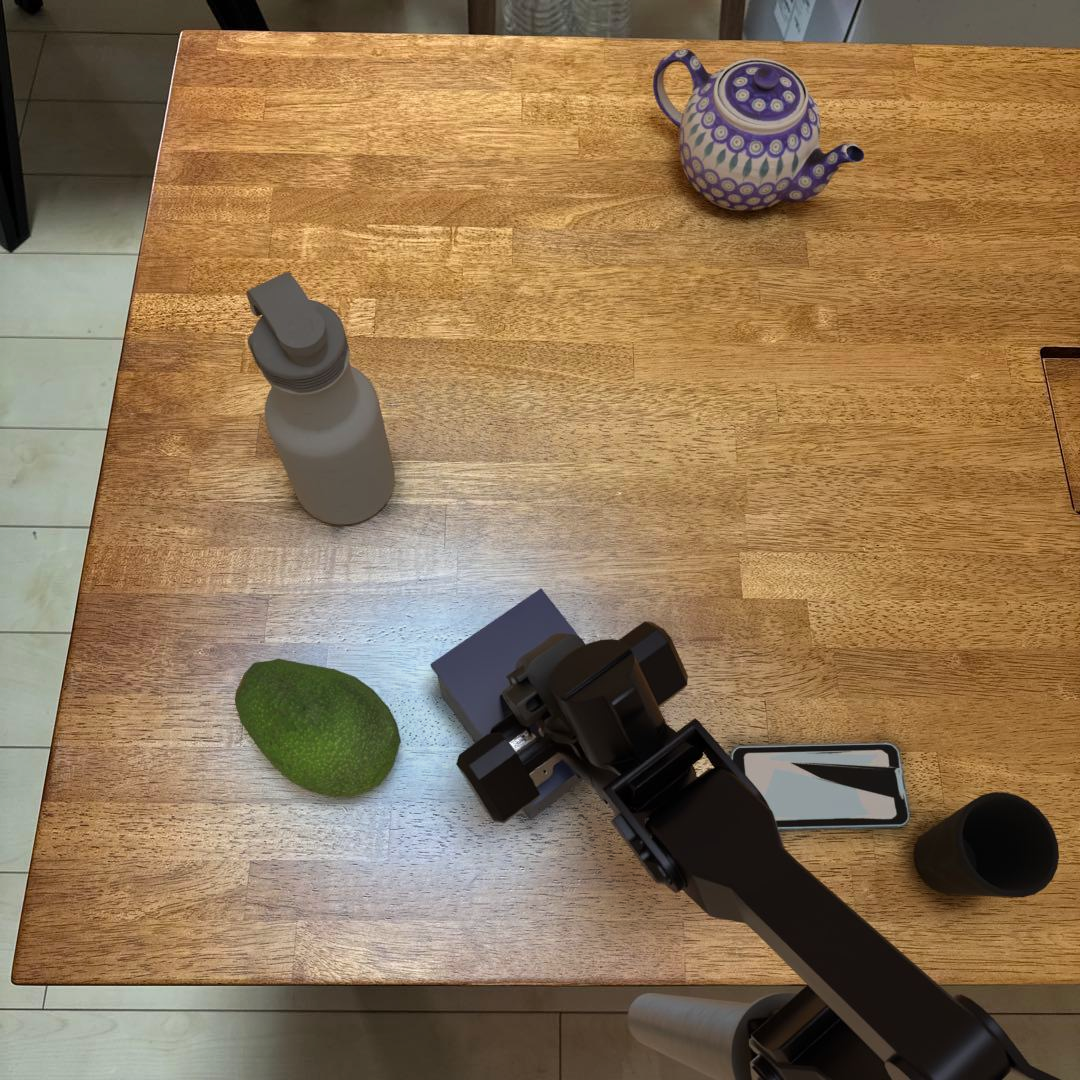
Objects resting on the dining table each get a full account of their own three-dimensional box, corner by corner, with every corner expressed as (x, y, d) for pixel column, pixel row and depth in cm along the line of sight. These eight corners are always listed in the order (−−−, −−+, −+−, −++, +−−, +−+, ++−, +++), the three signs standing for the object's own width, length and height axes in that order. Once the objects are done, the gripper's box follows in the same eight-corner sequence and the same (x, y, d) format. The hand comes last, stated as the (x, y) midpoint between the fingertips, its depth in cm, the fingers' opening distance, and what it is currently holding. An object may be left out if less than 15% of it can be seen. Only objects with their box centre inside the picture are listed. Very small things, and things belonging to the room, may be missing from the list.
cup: (888, 879, 87) (943, 865, 76) (917, 799, 90) (975, 774, 79) (974, 924, 86) (1043, 916, 75) (1001, 841, 88) (1072, 822, 77)
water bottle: (276, 465, 101) (197, 289, 75) (363, 420, 103) (315, 234, 77) (325, 545, 97) (259, 390, 72) (414, 497, 100) (381, 329, 74)
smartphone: (729, 745, 90) (897, 741, 90) (727, 747, 91) (894, 743, 91) (737, 831, 87) (911, 827, 87) (735, 832, 88) (908, 828, 88)
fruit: (222, 730, 90) (189, 702, 81) (295, 643, 94) (272, 606, 84) (354, 832, 87) (336, 815, 78) (426, 738, 90) (417, 711, 81)
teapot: (610, 161, 117) (623, 52, 104) (687, 86, 122) (710, -27, 109) (791, 276, 112) (831, 177, 98) (865, 193, 117) (912, 88, 103)
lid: (430, 666, 86) (426, 651, 82) (540, 591, 89) (542, 572, 85) (532, 808, 82) (533, 799, 78) (644, 723, 85) (651, 710, 81)
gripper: (689, 599, 70) (581, 541, 83) (466, 759, 65) (389, 671, 79) (739, 717, 75) (630, 645, 88) (535, 874, 70) (452, 773, 84)
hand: (529, 680), depth 85 cm, fingers closed on lid, 5 cm apart
